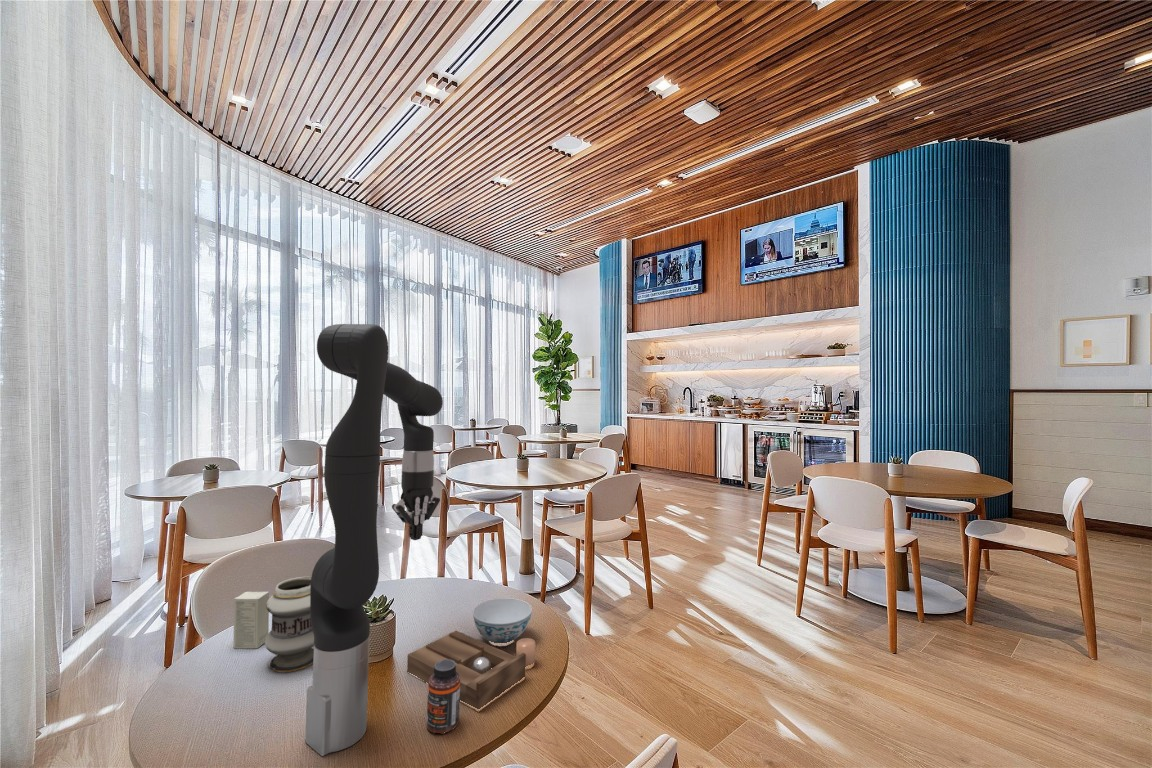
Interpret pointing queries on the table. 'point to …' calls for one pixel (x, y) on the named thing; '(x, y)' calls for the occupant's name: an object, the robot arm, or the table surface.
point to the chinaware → (502, 619)
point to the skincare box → (250, 619)
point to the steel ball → (481, 665)
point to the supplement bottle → (443, 697)
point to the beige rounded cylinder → (526, 649)
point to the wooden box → (469, 666)
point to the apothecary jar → (290, 625)
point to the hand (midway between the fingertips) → (415, 539)
